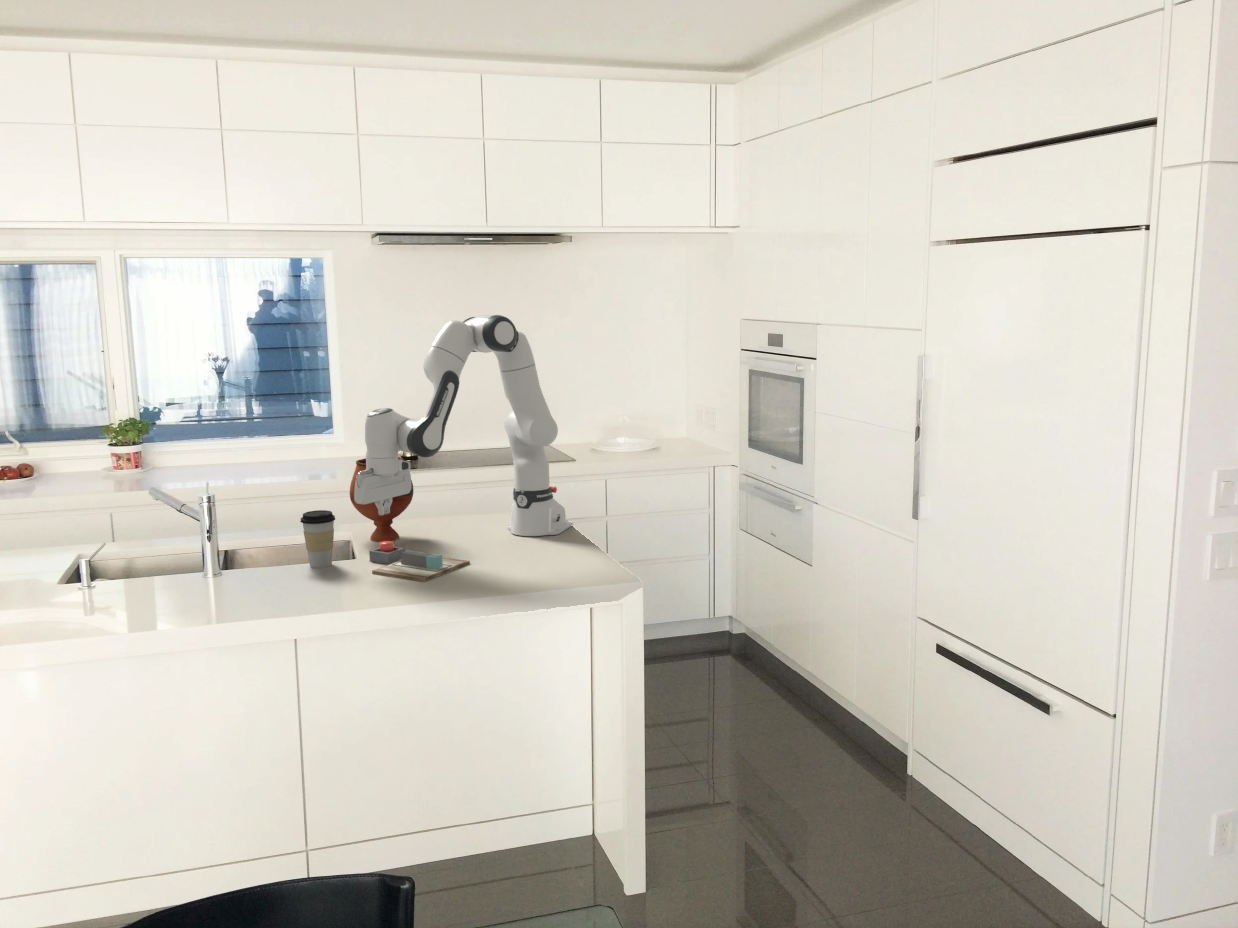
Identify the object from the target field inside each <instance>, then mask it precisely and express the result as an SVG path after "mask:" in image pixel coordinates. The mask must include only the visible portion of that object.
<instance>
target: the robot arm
mask: <svg viewBox="0 0 1238 928" xmlns="http://www.w3.org/2000/svg"><path fill="white" fill-rule="evenodd" d="M491 352H492V353H494V355H495V356H496V359H497V363H498V367H499V373H500V376H501V377H500V378H501V382H502V386H503V390H504V394H505V397H506V399H507V400H508V402H509V404H510V406H511V408H512V410H510V412H508V414H507V415H506V417H505V420H504V423H503V424H504V429H505V432H506V434H507V437H508V442H509V448H510V451H511V457H512V461H513V474H514V475H513V478H514V481H513V482H514V488H513V491H512V498H513V499H512V500H514V501H513V503H512V504H511V510H510V512H511V513H510V524H509V525H507V529H508V530H509V531H510V533H511V534H513V535H515V536H523V537H540V536H542V537H543V536H553V535H554V536H555V535H559V534H561V533H563V532H564V531H566V530H568V529H569V528H570V527H572V526H573V525H574V522H573V521H572V520H569V519H567V518H566V517H567V516H566V509H565V507H564V506H563V505H562V504H561V503H560V502H558V501H557V499H555V498H554V494H553V493H555V494H556V493H557V491H558V487H557V486H552V485H551V486H550V463H549V459H548V458H547V455H546V451H545V447H547V446H549V445H551V444H553V442H555V440H556V439H557V436H558V432H559V427H558V424H557V422H556V421H555V419H554V418H553V416H552V414H551V411H550V409H549V406H548V404H547V402H546V399H545V396H544V394H543V392H542V391H543V390H542V389H541V385H540V380H539V377H538V370H537V367H536V361H535V358H534V354H533V351H532V347H531V345H530V343H529V340H528V338H527V336H526V335H525V334H524V333H523V332H520V331H518V330H517V328H516V326H515V324H514V323H513V321H512V320H511V319H510V318H508V317H507V316H505V315H500V314H484V315H479V316H472V317H469V318H466V319H465V320H463V321H460V320H454V319H453V320H450V321H448V322H446V323H445V324H444V325H443V326H442V328H441V329H440V331H439V332H438V333H437V335H436V336H435V338H434V339H433V342H432V343H431V346H430V348H429V349H428V351H427V353H426V356H425V359H424V361H423V367H422V368H423V371H424V375H425V377H426V378H427V379H428V380H429V381H430V383H432V385H433V394H432V397H431V399H430V402H429V404H428V408H427V410H426V413H425V415H424V417H422V418H421V419H420V420H419V419H415V418H410V417H407V416H405V415H402V414H400V413H398V412H396V411H395V410H394V409H393V408H390V407H387V408H386V407H384V408H376V409H374V410H371V411H369V413H368V414H367V416H366V418H365V423H364V442H365V445H366V453H365V458H366V470H365V471H360V472H359V474H358V475H357V476H356V482H355V490H354V500H355V502H356V503H357V504H369V503H373V502H375V505H376V507H377V508H378V514H379V515H385V514H389V513H390V506H391V504H392V497H396V496H400V495H404V494H408V493H410V490H411V480H412V475H411V471H410V469H411V462H410V461H407V460H404V459H403V460H404V461H403V460H399V459H398V457H399V452H400V451H401V452H406V453H409V454H413V455H416V456H418V457H422V458H430V457H433V456H434V455H436V454H437V453H438V452H439V451H440V450H441V448H442V446H443V443H444V438H445V431H446V425H447V423H448V420H449V417H450V414H451V411H452V408H453V406H454V403H455V400H456V398H457V395H458V392H459V387H460V377H461V374H462V372H463V369H464V367H465V364H466V362H467V361H468V358H469V356H470V355H471V353H484V354H486V353H487V354H488V353H491ZM384 501H385V503H384ZM383 503H384V507H383Z"/></svg>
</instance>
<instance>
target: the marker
mask: <svg viewBox="0 0 1238 928" xmlns="http://www.w3.org/2000/svg"><path fill="white" fill-rule="evenodd" d="M442 557H443V555H442V554H437V553H428V552H423V551H415V550H409V549H407V550H405V552H402V553H401V564H404V565H410V566H417V567H424V568H430V569H437V568H440V567H443V563H442Z"/></svg>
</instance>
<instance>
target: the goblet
mask: <svg viewBox="0 0 1238 928" xmlns="http://www.w3.org/2000/svg"><path fill="white" fill-rule="evenodd" d="M398 459H399V460H403V461H405V460H404V458H402V457H401V456H398ZM355 464H356V465H355V469H354V472H353V475H352V478H351V481H350V486H349V498H350V501H351V504H352V506H353V507H354V508H355V509H356V511H357V512H359V514H361V515H362V516H363V517H365V518H367V519H369V520H371V521H373V525H374V527H376V528H375V530H374V531H373V532H372V533H371V535H370V538H369V539H370V541H372V542H378V543H380V542H383V541H395V540H397V539H399V538H400V535H399V533H398V532H397V531H396V529H394V528H393V527H392V524H393V523H394V521H393V519H395V518H397V517H399V516H400V515H401V514H402V513H403V512H405V510H406V509H407V508H408V507H409V506H410V504H411V502H412V500H413V497H414V484H413V481H412V479H411V490H410V493H408V494H404V495H400V496H396V497H392V504H391V506H390V513H389V514H385V515H379V514H378V508H377V507H376V505H375V502H373V503H369V504H357V503H356V502H355V500H354V490H355V482H356V476H357V475H358V474H359V472H360V471H365V470H366V457H365V458H362V459H357V460H356V461H355ZM384 503H385V501H384ZM384 503H383V507H384Z"/></svg>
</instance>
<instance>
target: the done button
mask: <svg viewBox="0 0 1238 928" xmlns="http://www.w3.org/2000/svg"><path fill="white" fill-rule="evenodd" d="M394 547H395V542H394V540H392V541H383V542H379V548H380V552H387V553H388V552H391V551H394Z"/></svg>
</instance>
